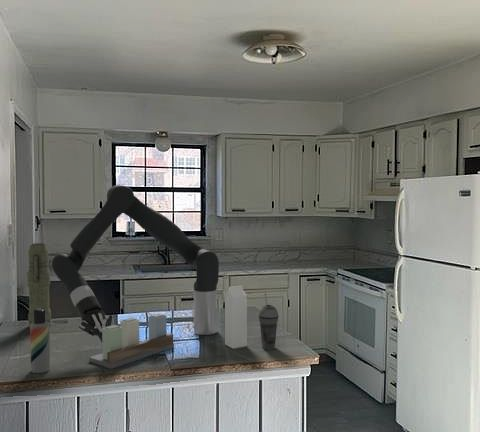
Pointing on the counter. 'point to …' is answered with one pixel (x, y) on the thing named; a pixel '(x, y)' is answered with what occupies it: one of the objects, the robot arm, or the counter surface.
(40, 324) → the lotion bottle
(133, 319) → the key cream
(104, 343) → the key sage
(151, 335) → the key slate
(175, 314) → the counter surface
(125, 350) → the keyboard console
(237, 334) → the milk
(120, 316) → the counter surface
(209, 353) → the counter surface
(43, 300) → the thermos
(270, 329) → the beverage cup
